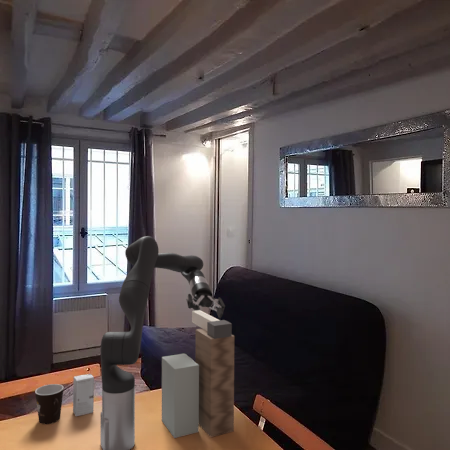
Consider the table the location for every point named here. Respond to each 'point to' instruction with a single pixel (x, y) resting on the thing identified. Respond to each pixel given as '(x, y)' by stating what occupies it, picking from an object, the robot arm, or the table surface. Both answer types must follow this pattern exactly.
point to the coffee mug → (49, 403)
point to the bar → (212, 324)
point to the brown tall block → (215, 382)
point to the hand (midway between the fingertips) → (210, 315)
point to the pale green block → (180, 395)
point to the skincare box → (83, 394)
